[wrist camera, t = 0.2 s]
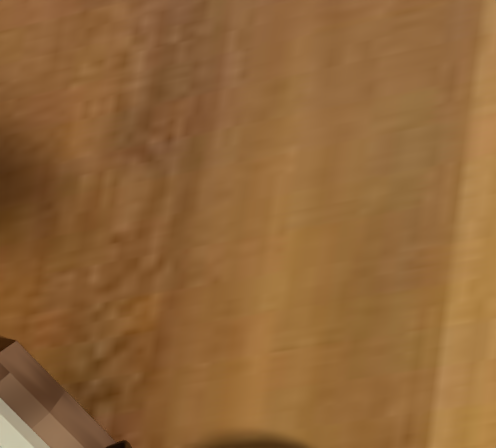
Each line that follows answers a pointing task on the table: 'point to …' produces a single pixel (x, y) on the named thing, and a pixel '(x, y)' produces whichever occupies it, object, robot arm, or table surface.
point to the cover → (16, 431)
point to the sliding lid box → (46, 403)
